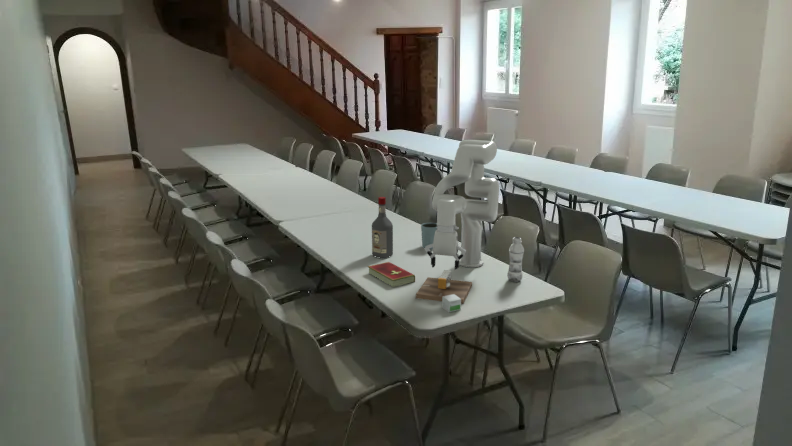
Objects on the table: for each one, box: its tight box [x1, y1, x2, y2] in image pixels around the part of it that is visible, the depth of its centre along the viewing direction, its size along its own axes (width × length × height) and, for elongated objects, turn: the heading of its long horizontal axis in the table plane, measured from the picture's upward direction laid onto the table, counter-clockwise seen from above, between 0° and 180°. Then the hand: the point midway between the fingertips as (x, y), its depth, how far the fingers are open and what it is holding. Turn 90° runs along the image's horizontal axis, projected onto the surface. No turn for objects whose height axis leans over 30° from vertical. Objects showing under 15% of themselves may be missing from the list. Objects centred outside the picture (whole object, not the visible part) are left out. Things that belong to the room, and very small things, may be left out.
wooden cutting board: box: [415, 276, 473, 305], centre depth 249 cm, size 20×20×2 cm
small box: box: [441, 294, 462, 313], centre depth 233 cm, size 6×6×5 cm
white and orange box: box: [437, 269, 452, 289], centre depth 248 cm, size 11×4×6 cm, turn 163°
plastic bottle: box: [507, 236, 525, 283], centre depth 259 cm, size 6×7×20 cm
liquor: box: [371, 196, 394, 259], centre depth 292 cm, size 9×9×30 cm
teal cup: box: [420, 222, 437, 250], centre depth 308 cm, size 10×10×12 cm
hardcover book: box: [367, 261, 416, 288], centre depth 266 cm, size 12×21×4 cm, turn 34°
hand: (444, 267), depth 246 cm, fingers open, 9 cm apart
